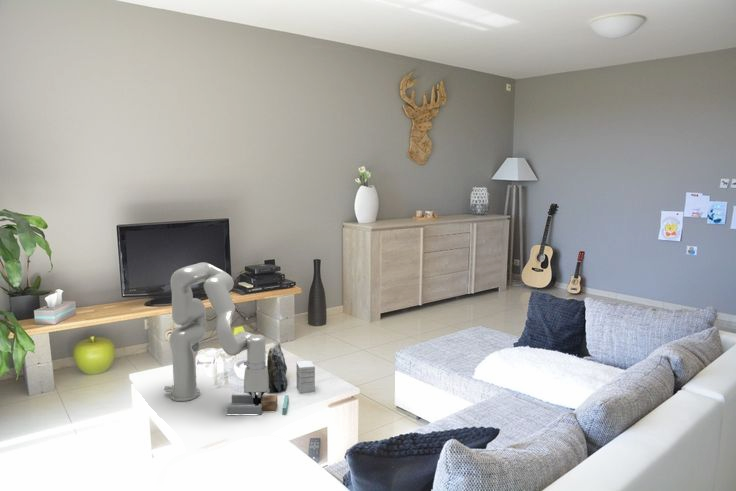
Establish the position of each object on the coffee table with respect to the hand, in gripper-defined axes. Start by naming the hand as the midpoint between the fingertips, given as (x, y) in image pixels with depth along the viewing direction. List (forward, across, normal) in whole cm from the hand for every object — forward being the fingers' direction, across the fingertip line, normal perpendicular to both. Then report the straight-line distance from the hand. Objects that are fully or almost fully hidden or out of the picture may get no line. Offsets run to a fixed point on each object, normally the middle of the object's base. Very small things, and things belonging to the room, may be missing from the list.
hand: (257, 405), depth 220 cm
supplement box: (+2, +20, +18) cm, 27 cm away
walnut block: (+1, +5, 0) cm, 5 cm away
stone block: (+2, +6, +23) cm, 24 cm away
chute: (+1, -4, 0) cm, 5 cm away
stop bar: (+1, +12, 0) cm, 12 cm away
